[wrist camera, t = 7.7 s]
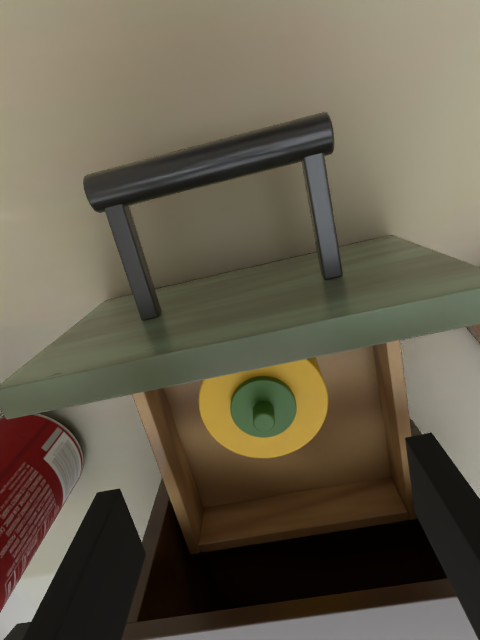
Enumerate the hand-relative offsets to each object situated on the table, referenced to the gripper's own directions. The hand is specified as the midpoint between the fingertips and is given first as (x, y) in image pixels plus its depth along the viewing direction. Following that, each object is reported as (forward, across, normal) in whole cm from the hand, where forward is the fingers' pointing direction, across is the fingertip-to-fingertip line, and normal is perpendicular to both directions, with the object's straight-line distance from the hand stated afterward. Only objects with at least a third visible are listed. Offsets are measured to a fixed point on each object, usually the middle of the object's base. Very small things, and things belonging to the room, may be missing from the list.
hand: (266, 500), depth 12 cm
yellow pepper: (+12, 0, 0) cm, 12 cm away
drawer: (+13, 0, 0) cm, 13 cm away
